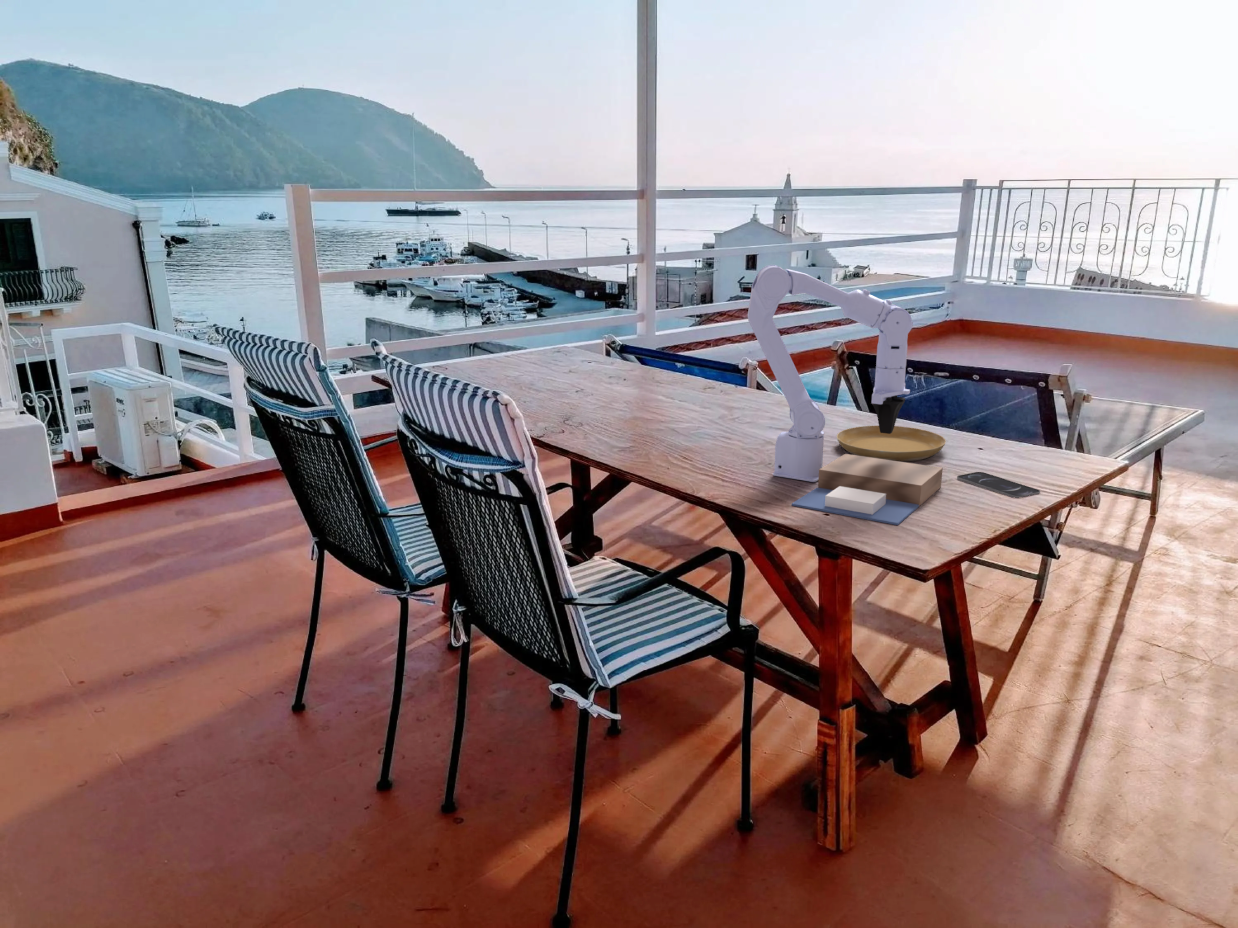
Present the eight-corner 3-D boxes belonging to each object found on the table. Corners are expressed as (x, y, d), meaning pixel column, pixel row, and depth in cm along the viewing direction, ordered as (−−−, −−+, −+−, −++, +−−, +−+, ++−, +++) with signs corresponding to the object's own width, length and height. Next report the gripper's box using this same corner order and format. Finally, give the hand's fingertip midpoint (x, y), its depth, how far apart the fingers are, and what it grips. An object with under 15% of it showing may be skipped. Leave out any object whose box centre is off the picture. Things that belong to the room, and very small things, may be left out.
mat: (791, 505, 158) (791, 503, 158) (817, 489, 167) (817, 487, 167) (897, 525, 146) (898, 523, 146) (918, 506, 156) (918, 504, 156)
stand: (818, 488, 167) (818, 469, 166) (844, 471, 178) (845, 453, 177) (919, 505, 156) (921, 485, 155) (940, 487, 167) (942, 467, 166)
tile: (839, 486, 161) (839, 496, 161) (825, 495, 155) (824, 505, 156) (886, 493, 156) (885, 504, 156) (873, 503, 150) (872, 514, 151)
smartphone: (1016, 496, 159) (954, 476, 172) (1015, 501, 160) (953, 480, 172) (1043, 491, 162) (980, 471, 175) (1042, 495, 163) (980, 475, 176)
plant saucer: (880, 470, 180) (882, 455, 179) (815, 445, 202) (816, 431, 201) (968, 457, 189) (969, 443, 188) (896, 434, 210) (897, 421, 209)
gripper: (899, 373, 160) (894, 442, 164) (922, 363, 172) (916, 428, 175) (863, 370, 164) (858, 438, 168) (887, 360, 176) (883, 424, 179)
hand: (886, 432), depth 172 cm, fingers closed
